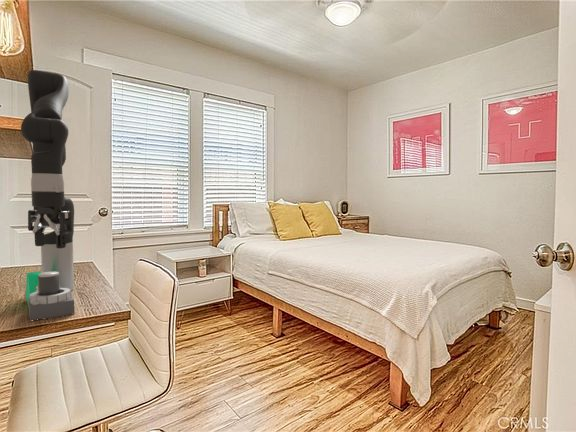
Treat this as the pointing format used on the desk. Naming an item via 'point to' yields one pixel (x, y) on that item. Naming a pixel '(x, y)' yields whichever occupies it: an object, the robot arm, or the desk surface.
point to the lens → (48, 283)
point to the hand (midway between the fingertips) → (50, 247)
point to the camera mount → (31, 283)
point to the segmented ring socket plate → (50, 304)
